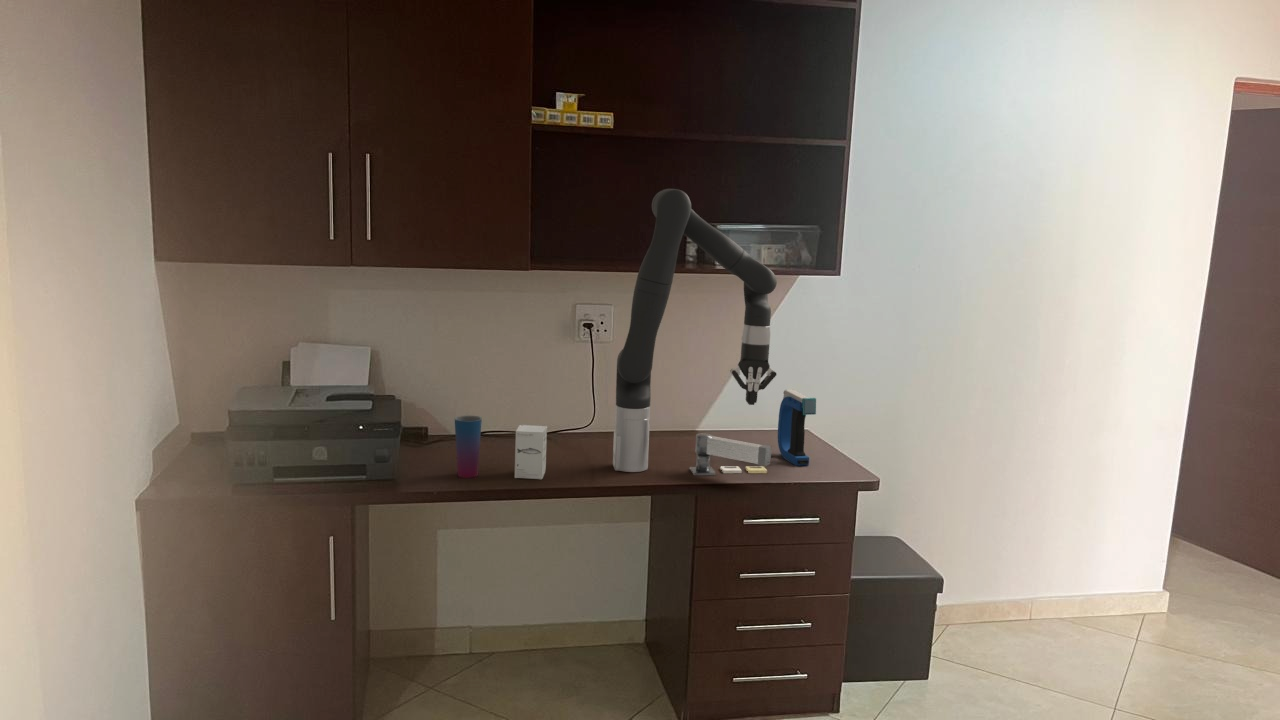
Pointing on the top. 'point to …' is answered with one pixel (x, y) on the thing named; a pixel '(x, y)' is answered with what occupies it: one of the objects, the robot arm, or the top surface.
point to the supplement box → (530, 451)
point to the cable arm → (733, 449)
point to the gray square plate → (702, 466)
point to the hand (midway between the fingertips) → (751, 404)
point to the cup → (467, 444)
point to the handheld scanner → (794, 426)
